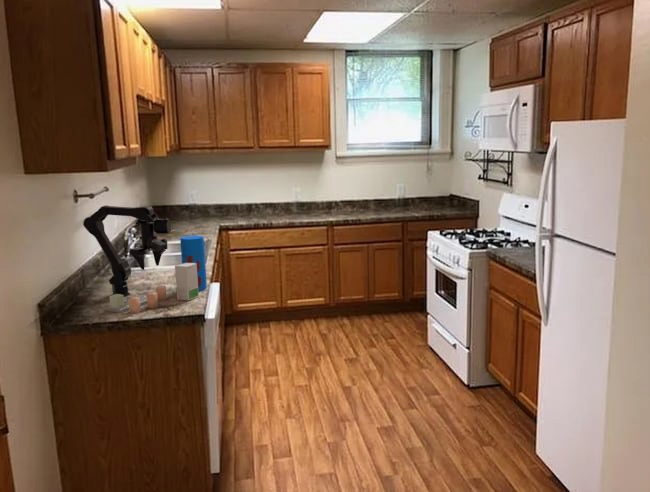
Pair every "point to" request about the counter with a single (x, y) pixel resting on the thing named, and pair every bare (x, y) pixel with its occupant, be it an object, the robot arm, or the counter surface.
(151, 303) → the salmon pink egg
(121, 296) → the pale green block
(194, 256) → the thermos
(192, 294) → the skincare box
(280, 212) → the counter surface
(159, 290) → the glossy pink ovoid
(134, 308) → the peach colored egg
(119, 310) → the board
